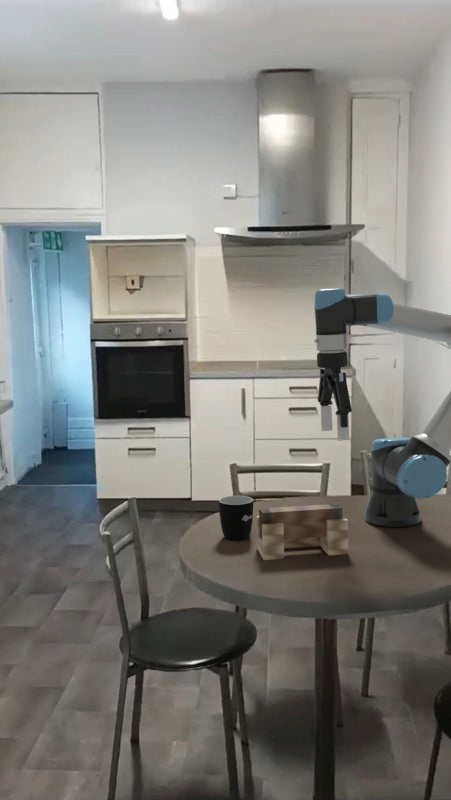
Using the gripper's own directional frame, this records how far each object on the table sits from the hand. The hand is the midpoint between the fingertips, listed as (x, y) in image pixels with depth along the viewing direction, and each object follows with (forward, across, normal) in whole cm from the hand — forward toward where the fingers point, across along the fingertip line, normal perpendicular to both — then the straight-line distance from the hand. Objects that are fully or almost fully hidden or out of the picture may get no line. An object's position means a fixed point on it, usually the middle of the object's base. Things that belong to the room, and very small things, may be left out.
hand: (335, 435), depth 204 cm
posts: (+27, +6, -11) cm, 30 cm away
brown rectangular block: (+23, +6, -12) cm, 27 cm away
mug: (+27, -10, -24) cm, 38 cm away
